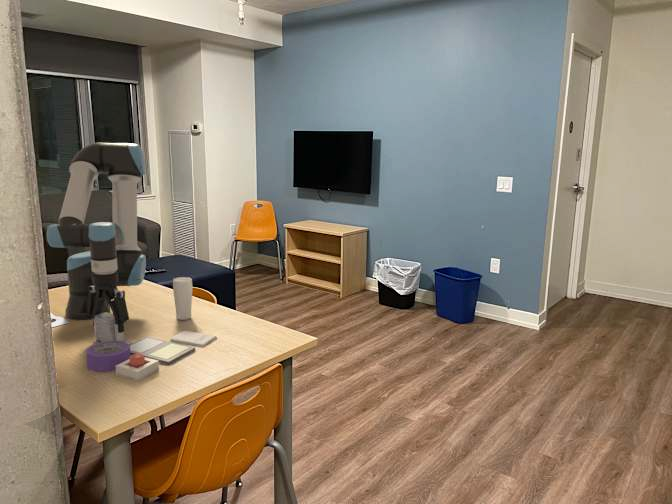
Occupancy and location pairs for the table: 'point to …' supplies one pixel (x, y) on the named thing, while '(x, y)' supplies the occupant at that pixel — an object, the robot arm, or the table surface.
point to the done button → (137, 360)
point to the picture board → (160, 350)
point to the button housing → (137, 369)
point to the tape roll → (107, 355)
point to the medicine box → (105, 327)
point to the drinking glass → (183, 297)
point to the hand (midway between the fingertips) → (109, 338)
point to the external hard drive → (193, 338)
